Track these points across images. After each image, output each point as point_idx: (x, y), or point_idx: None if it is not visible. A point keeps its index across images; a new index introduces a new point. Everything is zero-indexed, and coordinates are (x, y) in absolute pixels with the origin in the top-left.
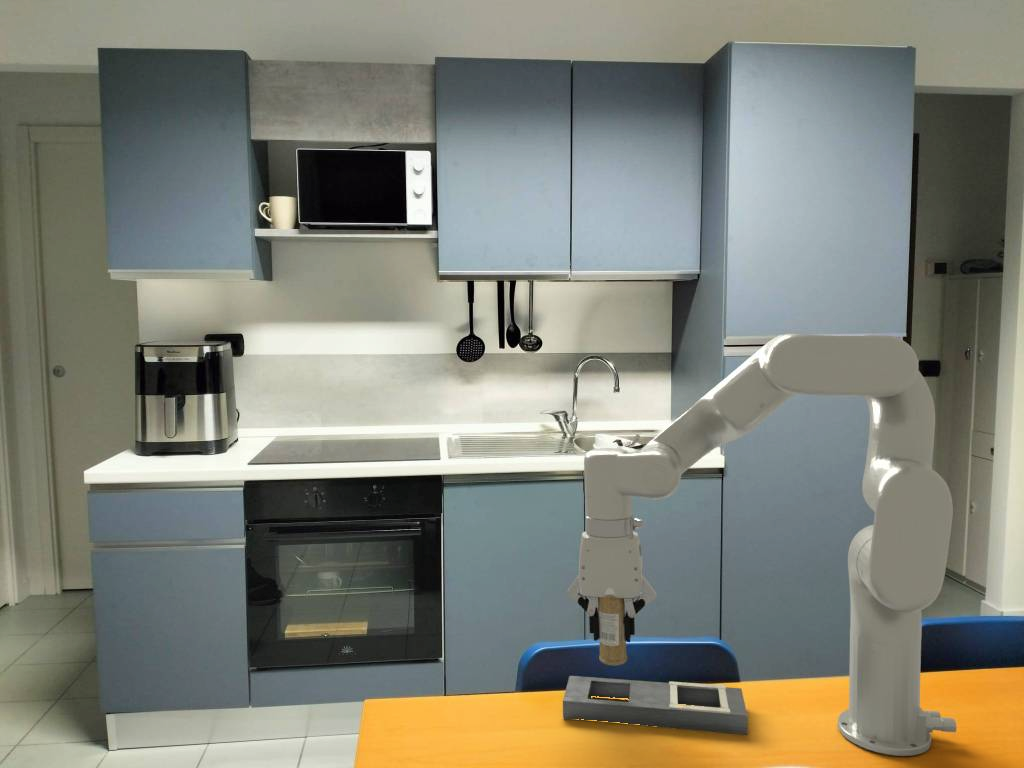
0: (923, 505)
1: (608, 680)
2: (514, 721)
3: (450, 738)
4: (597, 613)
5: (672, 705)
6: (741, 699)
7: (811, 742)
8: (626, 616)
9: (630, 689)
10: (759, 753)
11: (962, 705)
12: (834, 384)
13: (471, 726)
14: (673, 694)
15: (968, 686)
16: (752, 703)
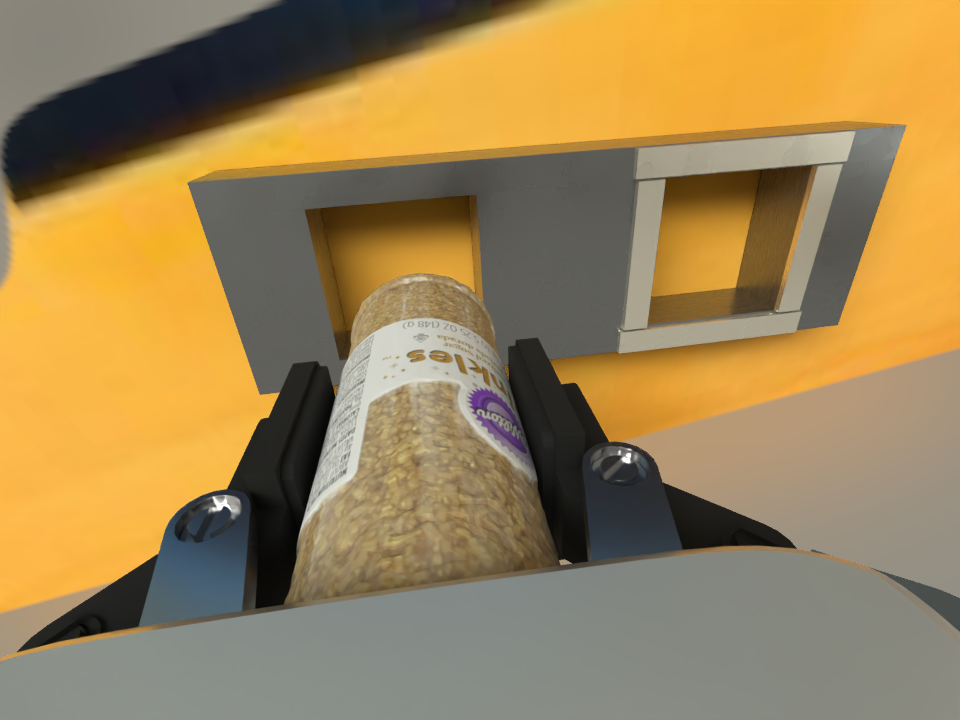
0: None
1: (378, 187)
2: (134, 411)
3: (21, 528)
4: (297, 519)
5: (629, 340)
6: (865, 221)
7: (937, 293)
8: (555, 535)
9: (482, 249)
10: (790, 375)
11: None
12: None
13: (27, 468)
14: (642, 263)
15: None
16: (895, 83)
